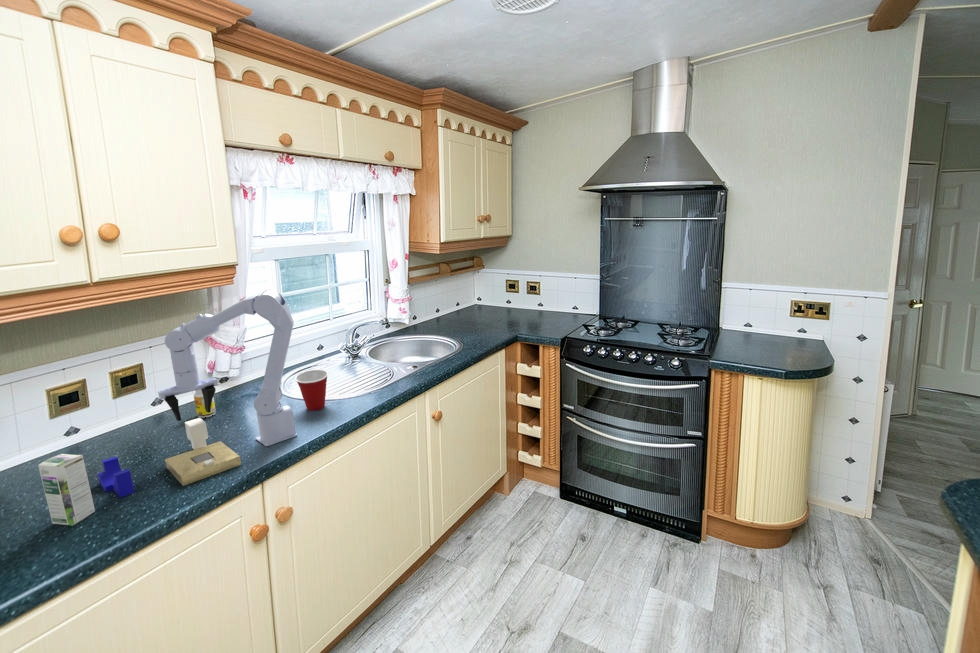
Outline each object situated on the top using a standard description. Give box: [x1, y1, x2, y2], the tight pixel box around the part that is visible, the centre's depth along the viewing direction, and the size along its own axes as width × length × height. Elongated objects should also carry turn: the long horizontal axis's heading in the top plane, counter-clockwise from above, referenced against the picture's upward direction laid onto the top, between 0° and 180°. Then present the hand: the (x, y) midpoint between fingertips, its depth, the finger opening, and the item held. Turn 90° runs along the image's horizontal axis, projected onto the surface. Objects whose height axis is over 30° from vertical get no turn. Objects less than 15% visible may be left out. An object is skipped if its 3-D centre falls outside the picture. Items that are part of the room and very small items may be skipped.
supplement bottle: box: [193, 389, 217, 419], centre depth 171 cm, size 6×6×10 cm
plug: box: [184, 417, 209, 450], centre depth 147 cm, size 4×5×8 cm
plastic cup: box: [294, 369, 329, 412], centre depth 174 cm, size 11×11×12 cm
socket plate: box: [164, 441, 242, 487], centre depth 137 cm, size 14×14×3 cm
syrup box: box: [37, 453, 96, 527], centre depth 114 cm, size 6×6×14 cm
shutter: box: [192, 453, 213, 463], centre depth 137 cm, size 4×4×1 cm
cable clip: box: [97, 456, 135, 498], centre depth 127 cm, size 12×4×6 cm, turn 49°
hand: (193, 415), depth 146 cm, fingers open, 7 cm apart
